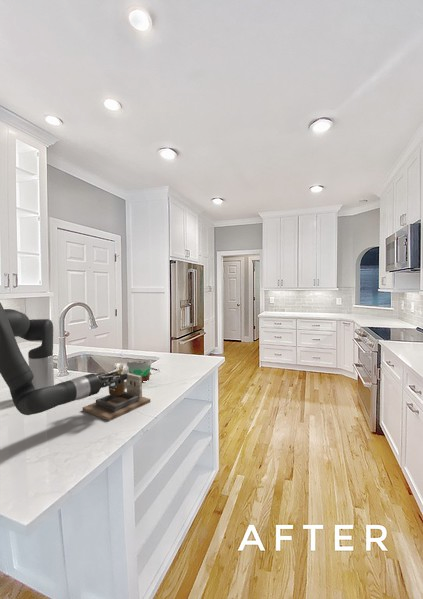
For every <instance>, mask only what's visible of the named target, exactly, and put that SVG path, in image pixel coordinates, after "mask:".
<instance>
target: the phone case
mask: <svg viewBox="0 0 423 599" xmlns="http://www.w3.org/2000/svg"><path fill="white" fill-rule="evenodd" d="M150 368H154V369H158V370H154V369H153V370H154V371H150V373H153V374H154V373H156V372H160V371H161V372H162V369H160V368H156V367H152V366H150Z"/></svg>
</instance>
